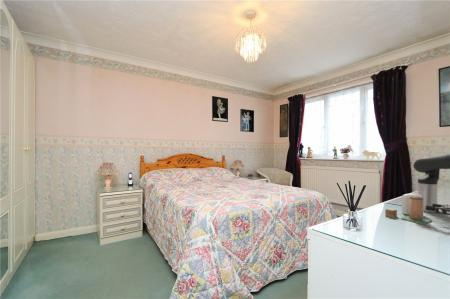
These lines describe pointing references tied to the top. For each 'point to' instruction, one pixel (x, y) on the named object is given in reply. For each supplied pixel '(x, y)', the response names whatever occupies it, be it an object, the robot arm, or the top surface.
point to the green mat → (416, 220)
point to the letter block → (391, 213)
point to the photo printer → (407, 203)
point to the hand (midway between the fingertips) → (429, 206)
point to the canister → (416, 208)
